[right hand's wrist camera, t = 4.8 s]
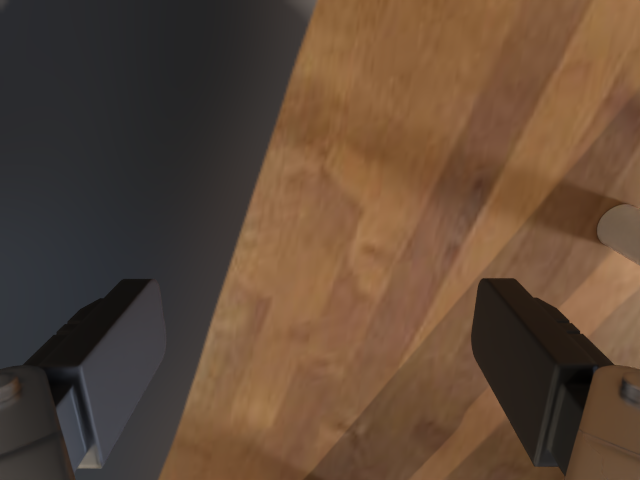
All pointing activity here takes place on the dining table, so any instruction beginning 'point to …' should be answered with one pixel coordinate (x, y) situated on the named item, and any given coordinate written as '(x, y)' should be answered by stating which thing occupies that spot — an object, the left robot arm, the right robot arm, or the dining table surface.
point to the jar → (621, 231)
